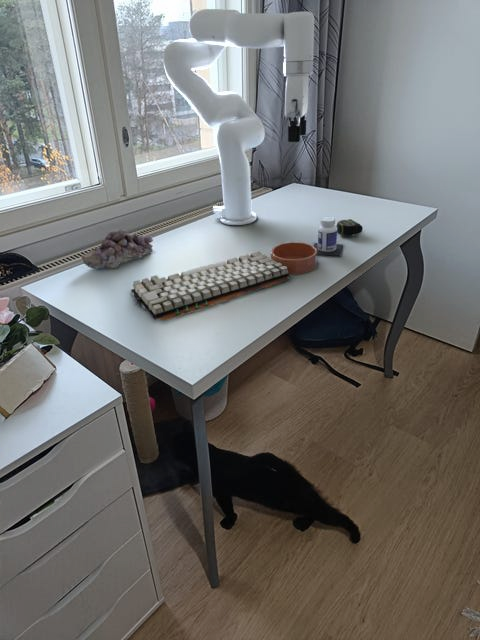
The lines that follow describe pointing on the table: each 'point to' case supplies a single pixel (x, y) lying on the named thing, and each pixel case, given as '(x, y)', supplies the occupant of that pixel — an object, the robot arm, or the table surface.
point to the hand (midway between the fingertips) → (297, 138)
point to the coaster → (333, 253)
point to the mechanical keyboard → (207, 285)
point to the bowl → (295, 256)
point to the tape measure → (348, 227)
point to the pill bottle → (327, 235)
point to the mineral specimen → (118, 250)
